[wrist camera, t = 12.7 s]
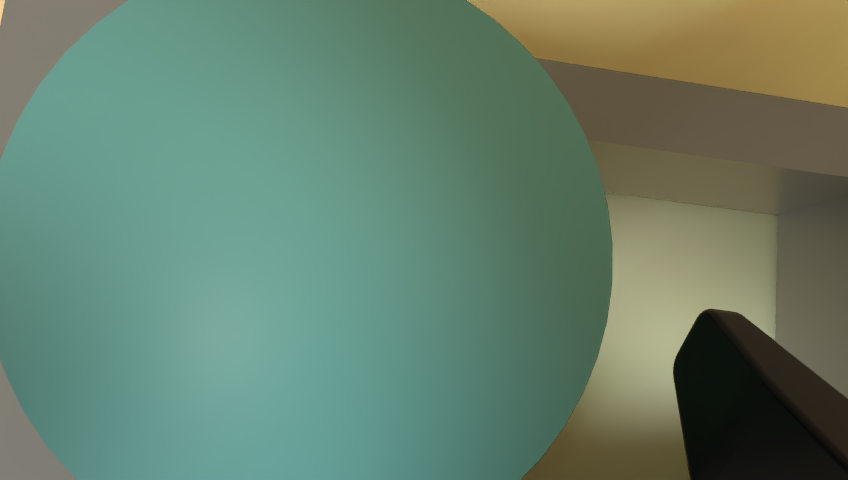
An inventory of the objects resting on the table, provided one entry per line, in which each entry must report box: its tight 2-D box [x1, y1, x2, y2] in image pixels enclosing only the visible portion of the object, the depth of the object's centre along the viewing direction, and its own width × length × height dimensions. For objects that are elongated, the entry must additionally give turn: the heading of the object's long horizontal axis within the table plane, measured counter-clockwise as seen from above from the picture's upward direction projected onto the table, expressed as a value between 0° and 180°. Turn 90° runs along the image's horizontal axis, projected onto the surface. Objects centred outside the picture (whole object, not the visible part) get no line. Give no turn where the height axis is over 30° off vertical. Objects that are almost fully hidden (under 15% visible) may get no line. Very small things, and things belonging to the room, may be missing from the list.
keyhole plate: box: [0, 0, 848, 480], centre depth 17 cm, size 19×11×4 cm, turn 85°
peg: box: [0, 0, 612, 480], centre depth 11 cm, size 6×6×13 cm
